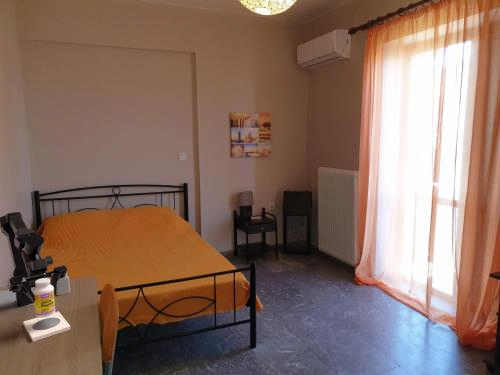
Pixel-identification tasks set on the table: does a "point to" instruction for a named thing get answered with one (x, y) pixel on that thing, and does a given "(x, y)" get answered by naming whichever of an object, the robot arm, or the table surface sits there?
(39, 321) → the base
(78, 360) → the table surface
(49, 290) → the supplement bottle
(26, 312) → the table surface
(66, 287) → the power adapter
